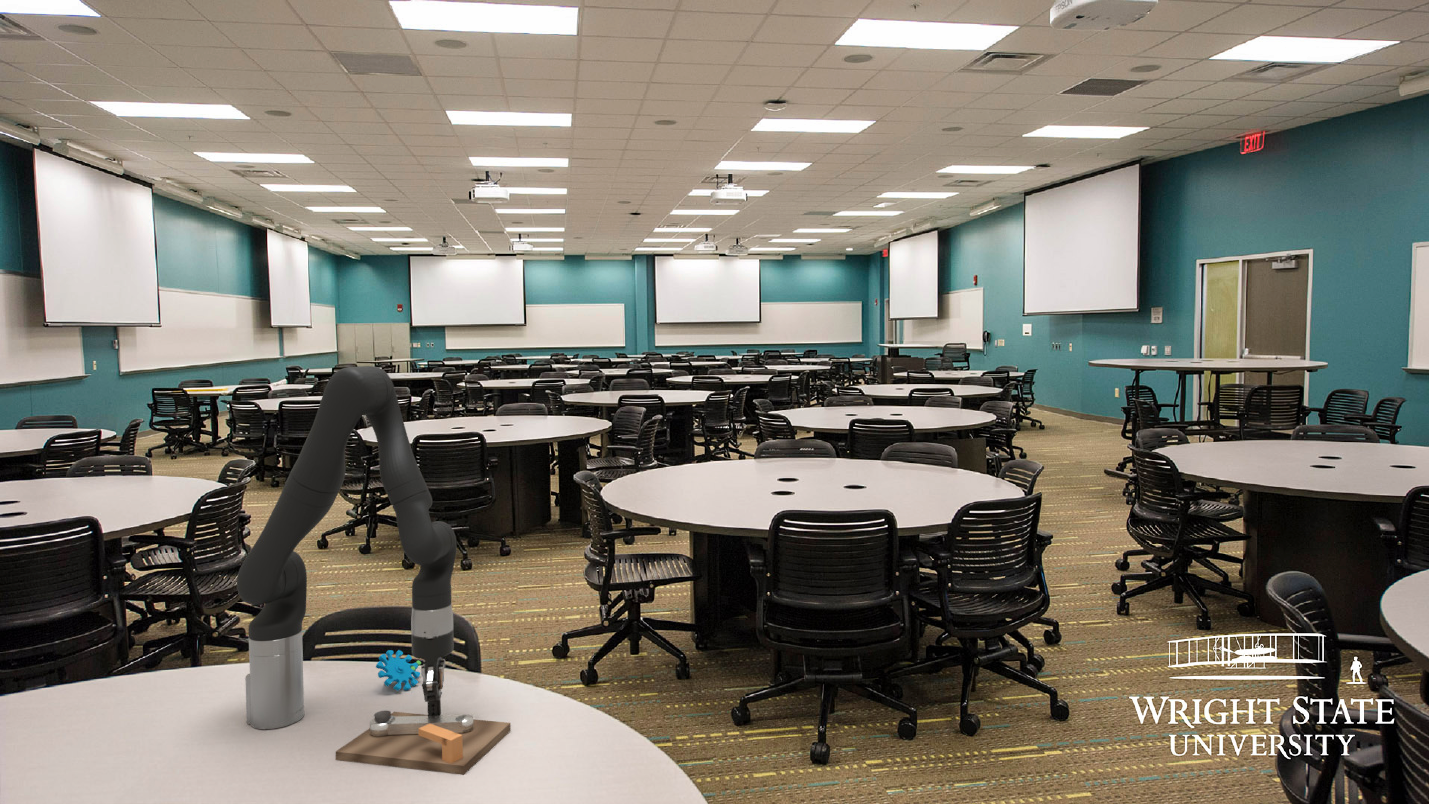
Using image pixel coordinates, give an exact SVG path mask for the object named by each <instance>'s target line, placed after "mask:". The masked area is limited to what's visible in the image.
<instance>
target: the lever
mask: <svg viewBox="0 0 1429 804" xmlns="http://www.w3.org/2000/svg"><path fill="white" fill-rule="evenodd" d="M473 719H474V716H473V715H472V714H443V715H442V714H441V715H435V716H399V717H394V716H391V719H390V720H388V721H385V722H375V718H372V719H371V720H370V722H369V728H370V734H371V735H372V736H386V735H398V734H419V733H418V729H419V728H421V727H423V726H425V725H428V724H433V725H435V726H438V727H441V728H444V729H447V730H449V731H452V732H455V733H464V732H469V731H471V730H472V729H473Z"/></svg>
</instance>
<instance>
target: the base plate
mask: <svg viewBox="0 0 1429 804" xmlns="http://www.w3.org/2000/svg"><path fill="white" fill-rule="evenodd" d="M391 716H394V717H399V716H428V714H423V713H412V712H404V711H393V712H391V711H390V710H380V711H377V712H375V713H374V718H375V722H385V721H388V720H390V719H391ZM374 718H373V719H374ZM511 729H512V728H511V722H505V721H494V720H485V719H484V720H483V719H475V718H473V729H472V730H471V731H469V732H464V733H458V734H461V735H462V743H463V758H461V759H459V760H457V761H455V762H453V763H452V764H451V763H449V762H446V761H444V760H442V744H441V743H438V742H435V741H433V740H430V739H427V738H425V737H422V736H419V734H398V735H386V736H372V735H371V734H370V727H369V728H368V729H366V730H365V731H364V732H362V733H360V734H359V735H358V736H356V737H355V738H353V739H352V740H350V741H349V742H347V743H346V744H344V745H343V746H342V747H340V748H339V749H337V750H336V751H335V760H336V761H344V762H350V763H360V764H366V765H367V764H369V765H378V766H385V767H386V766H387V767H395V768H404V769H414V770H422V771H428V772H429V771H430V772H431V771H432V772H437V773H440V772H441V773H447V774H458V775H465V774H466V773H467V772H468V771H469V770H470V769H471V768H472V767H473V766H474V765H475V764H477V763H478V762H479V761H480V760H482V758H483V757H484V756H485V755H486V754H488V752H489V751H491V750H492V748H494V747H495V746H496V745H497V744H498V743H499V742H500V741H502V739H504V737H505V736H506V735H507V734H508V733H510V732H511Z"/></svg>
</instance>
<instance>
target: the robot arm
mask: <svg viewBox="0 0 1429 804" xmlns="http://www.w3.org/2000/svg"><path fill="white" fill-rule="evenodd" d="M400 407H401V406H400V404H399V400H398V396H397V392H396V388H395V385H394V383H393V381H392V379H391V377H390V375H389V374H388V373H387V372H386V371H385V370H383V369H382V368H381V367H378V366H374V365H373V366H372V365H365V366H348V367H344V368H341V369H339V370H337V371H336V372H334V373H333V375H332V376H331V377H330V378H329V380H328V382H327V383H326V386H325V388H324V391H323V394H322V397H321V399H320V402H319V404H318V408H317V412H316V415H315V418H314V421H313V423H312V426H311V429H310V431H309V432H308V434H307V438H306V440H305V442H304V443H303V446H302V449H301V451H300V452H299V454H298V457H297V459H296V461H295V463H294V465H293V467H292V469H291V471H290V473H289V475H288V477H287V479H286V481H285V483H284V486H283V488H282V490H281V493H280V494H279V495H280V496H279V498H278V500H277V502H276V504H275V505H274V507H273V509H272V511H271V513H270V515H269V518H268V519H267V521H266V524H265V526H264V528H263V530H262V532H261V533H260V535H259V537H257V539H256V542H255V543H254V544H253V546H252V548H251V549H250V550H249V552H248V554H247V555H246V557H245V559H244V560H243V562H242V564H241V566H240V567H239V569H238V573H237V577H236V591H237V593H238V595H239V598H240V599H241V600H242V601H243V602H245V603H246V604H248V605H251V606H252V605H253V606H260V605H263V607H262V609H261V610H260V612H259V613H258V614H257V615H256V616H255V617H254V618H253V619H252V620H251V621H250V623H249V625H248V630H247V631H248V655H249V657H248V659H249V660H248V661H249V673H247V674H246V675H245V706H246V707H245V709H246V713H245V714H246V715H245V716H246V724H247V725H251V727H253V728H255V729H258V730H271V729H278V728H283V727H287V726H290V725H292V724H296V723H297V722H299V721H300V720H301V719H302V718H304V716H305V698H304V697H305V696H304V695H305V694H304V693H305V692H304V691H305V690H304V688H305V687H304V656H303V655H304V654H303V650H304V649H303V621H304V618H305V616H306V613H307V593H308V592H307V591H308V588H307V587H308V583H307V582H308V580H307V579H308V574H307V569H306V565H305V562H304V560H303V558H302V557H301V556H300V554H299V553H298V552H296V551H295V549H296V548H297V546H298V545H299V544H300V543H301V541H303V540H304V538H306V536H307V535H309V533H311V531H312V530H313V529H315V527H316V526H318V524H319V523H320V522H321V521H322V520H323V519H324V518H325V516H326V515H327V514H328V513H329V511H330V509H331V508H332V507H333V505H334V503H335V501H336V499H337V497H338V495H339V493H340V490H341V489H342V486H343V484H344V481H345V476H346V449H347V448H346V447H347V444H348V441H349V439H350V436H351V434H352V433H353V430H354V429H355V427H356V425H357V423H358V422H359V421H360V418H362V416H365V418H367V420H368V421H369V424H370V425H371V427H372V430H373V432H374V436H375V438H376V442H377V447H378V466H379V468H378V469H379V475H380V480H381V484H382V486H383V489H384V491H385V493H386V496H387V497H388V499H389V501H390V504H391V506H392V509H393V511H394V512H395V517H396V525H397V529H398V535H399V540H400V544H401V547H402V550H403V552H404V554H405V555H406V557H407V558H408V559H409V560H410V561H411V562H412V563H414V565H415V564H416V565H418V566H420V568H419V572H418V573H417V575H415V577H414V578H413V580H412V583H411V584H412V585H411V618H410V621H411V622H410V626H411V627H410V628H411V630H410V632H411V633H410V634H411V656H413V658H416V659H418V660H420V659H421V660H423V661H422V666H421V669H420V676H421V677H422V683H421V687H422V692H423V698H424V702H425V703H427V715H428V716H435V715H442V710H441V709H442V707H441V705H442V704H441V702H442V701H441V700H442V699H441V698H442V695H443V691H442V690H443V688H444V682H445V668H446V659H445V658H444V657H447V656H448V655H450V654H452V653H453V651H454V648H455V646H454V645H455V643H454V641H455V640H454V637H455V636H454V611H453V606H452V575H453V572H454V569H455V568H454V567H455V562H456V561H455V560H456V555H457V554H456V553H457V537H456V534H455V531H454V529H453V528H452V526H451V525H450V524H448V523H446V522H444V521H442V520H440V521H439V520H438V521H432V520H431V516H430V512H429V510H430V508H431V507H432V505H433V497H432V493H431V491H430V490H429V487H428V485H427V483H426V481H425V479H424V476H423V475H422V472H421V469H420V467H419V465H418V463H417V461H416V458H415V456H414V453H413V449H412V447H411V443H410V440H409V437H408V433H407V430H406V426H405V422H404V419H403V414H402V412H401V408H400Z"/></svg>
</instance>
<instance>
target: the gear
mask: <svg viewBox="0 0 1429 804" xmlns="http://www.w3.org/2000/svg"><path fill="white" fill-rule="evenodd" d="M394 653H395V657H393V654H394ZM403 654H404V652H403V651H402V650H400V649H398V650H397V651H396V652H394V650H392V649H391V650H390V649H389V650H387V651H386V652H385V653H382V654H381V655H379V657H378V660H379V661H378V662H377V663H376V665H375V668H376V669H380V670H379V671H378V672H377V677H378V678H379V679H382V678H386V679H385V680H384V681H383V685H385V687H389V686H390V685H391V684H392V683H395V682H396V684H395V685H394V686H393V689H394V690H395V691H396V692H399V691H400V690H401V689H402V688H403V690H404V691H410V690H411V689H412V687H415V686H416V685H417V684H418V683H419V681H418V680H417V679H418V678H420V676H421V671H416V670H417V669H418V668H419V667H420V665H421V664H422V662H421V661H420V659H418V660H416V662H413V663H411V660H412V659H413V658H412V655H410V654H407V655H406V656H405V657H404V658H401V657H402V655H403ZM387 658H388V659H387ZM409 662H410V663H409ZM409 681H410V682H409ZM402 683H403V684H404V685H403V687H402Z"/></svg>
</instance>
